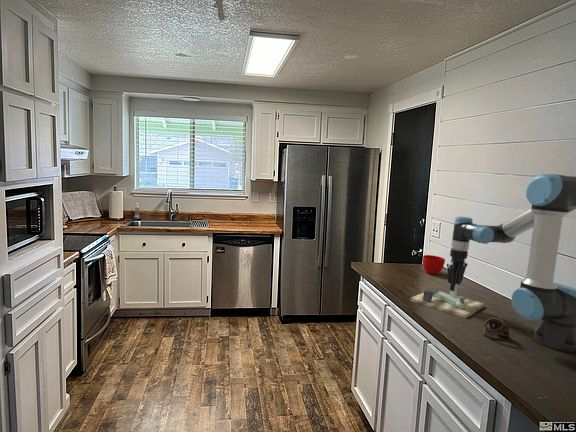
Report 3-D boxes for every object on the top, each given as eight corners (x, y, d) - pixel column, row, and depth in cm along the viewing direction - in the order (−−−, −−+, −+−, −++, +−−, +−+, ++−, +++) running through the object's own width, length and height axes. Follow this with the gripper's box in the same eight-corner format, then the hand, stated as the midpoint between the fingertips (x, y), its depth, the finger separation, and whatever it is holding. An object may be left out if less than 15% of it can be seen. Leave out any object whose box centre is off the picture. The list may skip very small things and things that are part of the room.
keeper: (437, 298, 198) (438, 289, 198) (428, 302, 191) (430, 293, 190) (431, 296, 200) (432, 287, 200) (422, 300, 193) (424, 291, 192)
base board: (483, 306, 197) (485, 293, 196) (465, 318, 178) (467, 303, 177) (431, 291, 214) (433, 279, 213) (410, 300, 195) (411, 287, 195)
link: (469, 308, 186) (470, 304, 186) (460, 309, 184) (461, 305, 184) (436, 293, 206) (437, 289, 205) (428, 293, 204) (429, 289, 204)
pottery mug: (516, 344, 156) (511, 327, 154) (490, 350, 158) (485, 334, 156) (502, 324, 167) (498, 308, 165) (479, 331, 169) (474, 315, 167)
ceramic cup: (445, 272, 260) (448, 257, 259) (440, 277, 246) (442, 261, 244) (425, 268, 267) (427, 253, 265) (418, 272, 252) (420, 257, 251)
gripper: (461, 246, 199) (454, 293, 203) (444, 248, 193) (437, 296, 196) (474, 250, 193) (467, 298, 197) (457, 251, 186) (450, 301, 190)
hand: (452, 297), depth 196 cm, fingers closed
